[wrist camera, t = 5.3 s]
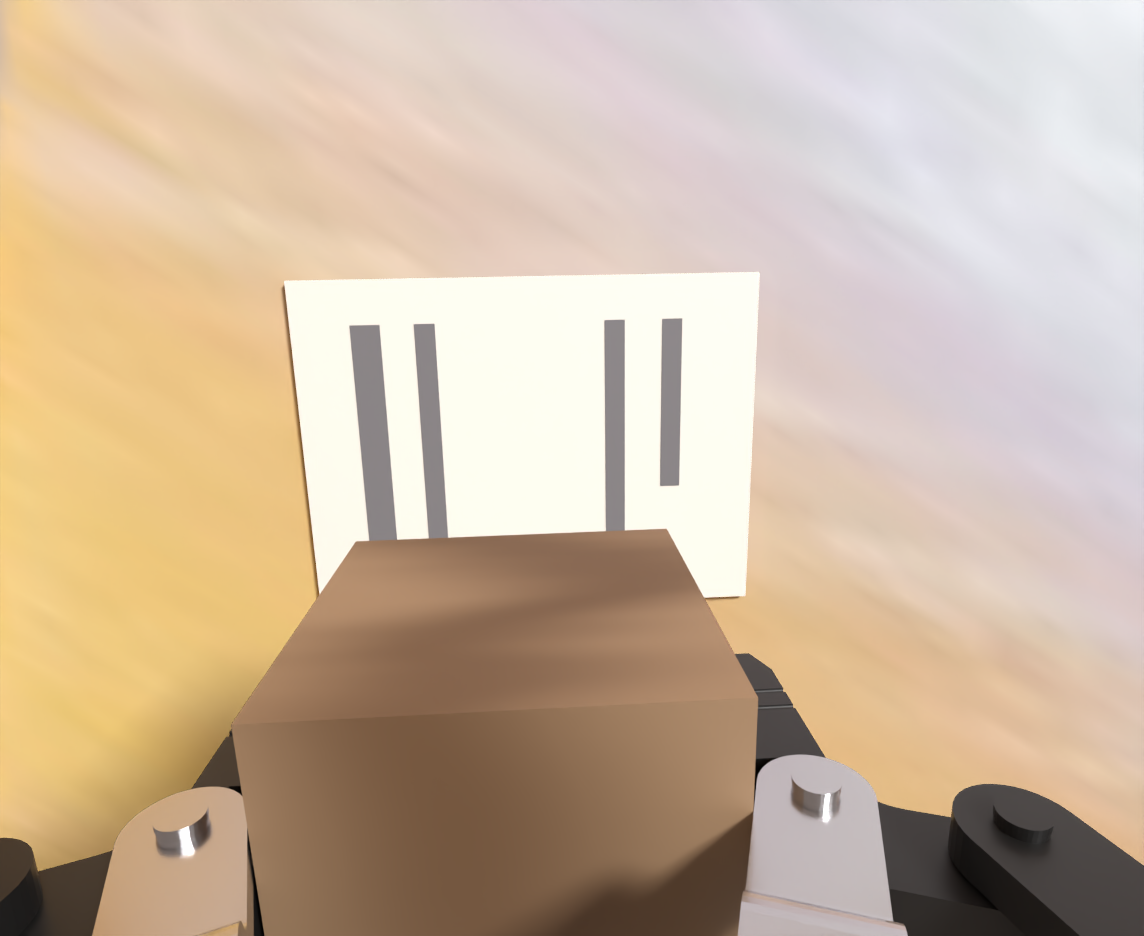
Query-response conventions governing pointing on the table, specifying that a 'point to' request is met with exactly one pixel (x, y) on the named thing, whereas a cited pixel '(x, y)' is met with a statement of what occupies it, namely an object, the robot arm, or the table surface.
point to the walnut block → (503, 746)
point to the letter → (529, 410)
